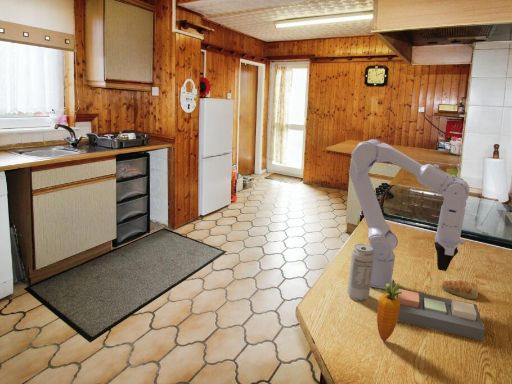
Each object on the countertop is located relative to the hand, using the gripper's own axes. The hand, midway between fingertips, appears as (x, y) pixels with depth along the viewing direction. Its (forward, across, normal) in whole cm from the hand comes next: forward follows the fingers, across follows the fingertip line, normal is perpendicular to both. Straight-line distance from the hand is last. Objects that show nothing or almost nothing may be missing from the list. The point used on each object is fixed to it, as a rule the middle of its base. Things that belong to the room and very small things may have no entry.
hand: (441, 269), depth 102 cm
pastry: (+10, +8, -7) cm, 15 cm away
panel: (+9, -10, +2) cm, 14 cm away
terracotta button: (+8, -10, +8) cm, 15 cm away
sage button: (+9, -10, +1) cm, 13 cm away
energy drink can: (+10, -8, +21) cm, 24 cm away
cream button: (+8, -10, -5) cm, 14 cm away
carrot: (+10, -26, +13) cm, 31 cm away
